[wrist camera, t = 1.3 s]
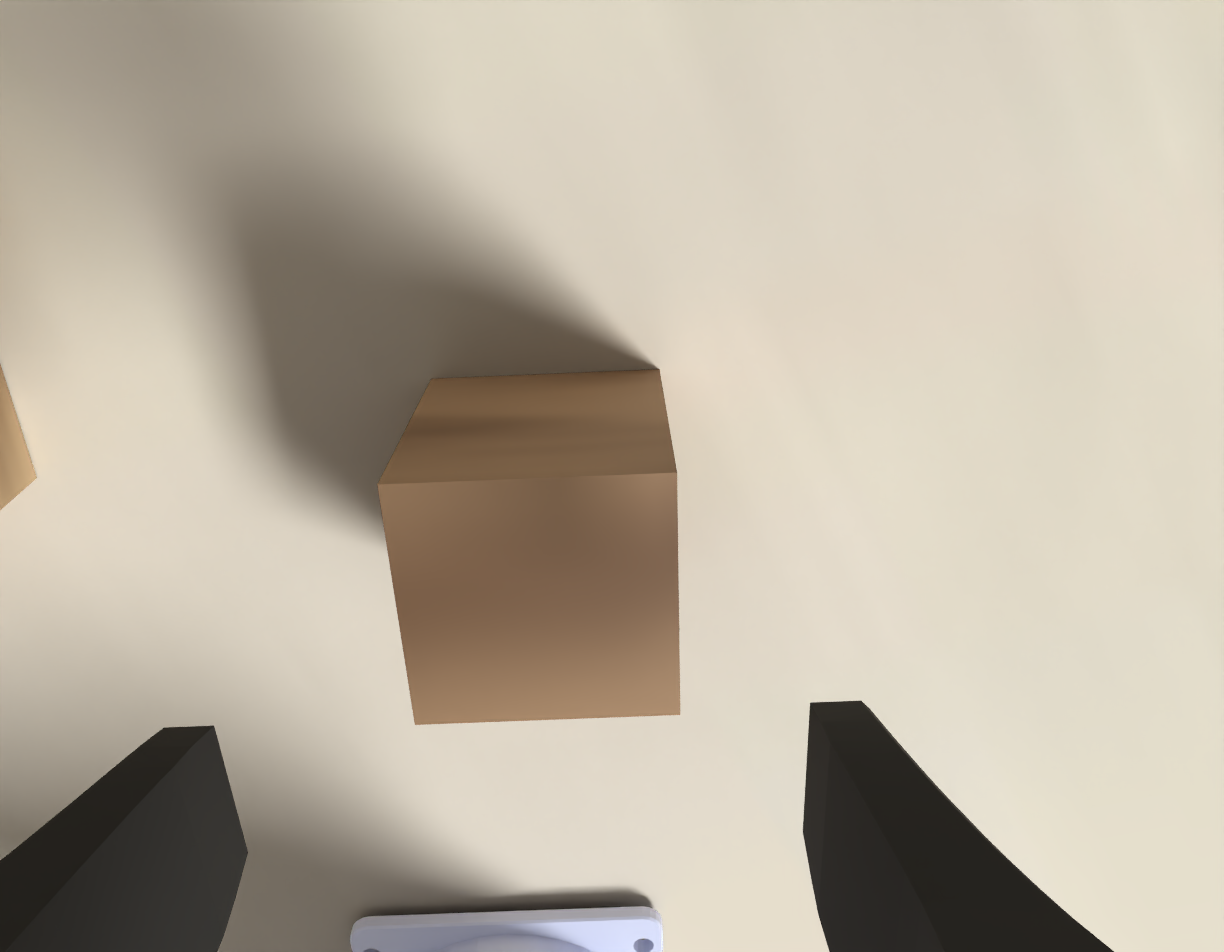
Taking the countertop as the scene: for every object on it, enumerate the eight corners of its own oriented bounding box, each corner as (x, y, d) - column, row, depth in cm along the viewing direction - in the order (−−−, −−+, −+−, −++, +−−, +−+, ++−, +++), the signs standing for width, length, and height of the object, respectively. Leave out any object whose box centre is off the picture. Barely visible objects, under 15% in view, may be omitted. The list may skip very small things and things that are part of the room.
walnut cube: (663, 566, 21) (679, 714, 16) (456, 574, 21) (414, 724, 16) (659, 368, 19) (676, 472, 14) (431, 377, 19) (376, 484, 14)
